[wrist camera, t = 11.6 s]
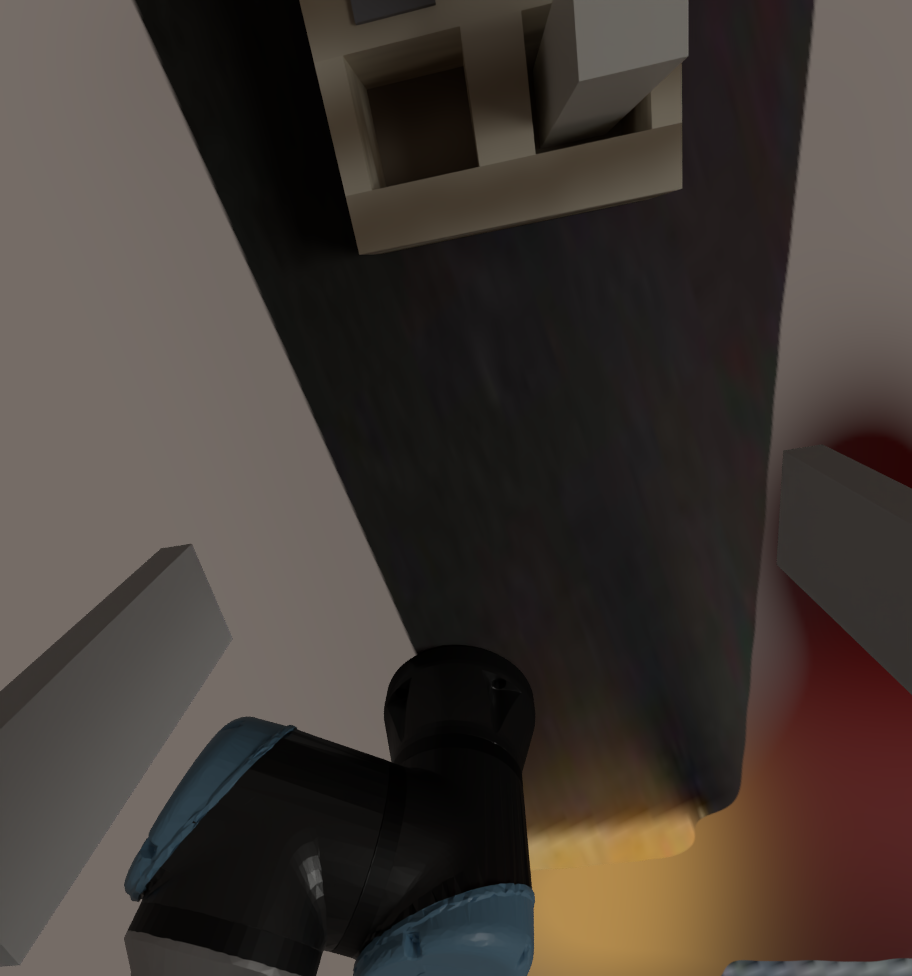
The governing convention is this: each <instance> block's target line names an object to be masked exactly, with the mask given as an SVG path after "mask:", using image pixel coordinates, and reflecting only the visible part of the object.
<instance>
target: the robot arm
mask: <svg viewBox="0 0 912 976" xmlns="http://www.w3.org/2000/svg"><path fill="white" fill-rule="evenodd" d="M780 500H781V501H780V516H779V534H778V551H777V565H778V566H779V567H780V568H781V569H782V570H783V571H784V572H785V573H786V574H787V575H789V577H790V578H791V579H792V580H793V581H794V582H796V584H798V585H799V586H800V587H801V588H802V589H803V590H804V591H805V592H806V593H807V594H808V595H809V596H810V597H811V598H812V599H813V600H814V601H815V602H816V603H817V604H818V605H819V606H820V607H821V608H822V609H823V610H825V611H826V612H827V613H828V614H829V615H830V616H831V617H832V618H833V619H834V620H835V621H836V622H837V623H838V624H839V625H840V626H841V627H842V628H843V629H844V630H845V631H846V632H847V633H848V634H850V636H852V637H853V638H854V639H855V640H856V641H857V642H858V643H859V644H860V645H861V646H862V647H863V648H864V649H865V650H866V651H867V652H868V653H869V654H870V655H871V656H872V657H873V658H874V659H875V660H877V662H879V663H880V664H881V665H882V666H883V667H884V668H885V669H886V670H887V671H888V672H889V673H890V674H891V675H892V676H893V677H894V678H895V679H896V680H897V681H898V682H899V683H900V684H901V685H902V686H903V687H904V688H905V689H907V690H908V691H909V692H910V693H911V694H912V489H911V488H909V487H907V486H905V485H902V484H901V483H899V482H896V481H895V480H893V479H891V478H888V477H887V476H885V475H883V474H880V473H879V472H877V471H875V470H872V469H871V468H868V467H866V466H864V465H862V464H860V463H858V462H856V461H854V460H852V459H850V458H848V457H846V456H844V455H842V454H840V453H838V452H836V451H834V450H832V449H830V448H828V447H826V446H824V445H817V446H811V447H804V448H797V449H791V450H785V451H783V466H782V482H781V499H780ZM231 641H232V636H231V634H230V631H229V629H228V627H227V625H226V622H225V620H224V618H223V615H222V613H221V611H220V608H219V606H218V604H217V601H216V599H215V597H214V594H213V592H212V590H211V587H210V585H209V583H208V580H207V578H206V576H205V573H204V571H203V569H202V566H201V564H200V562H199V559H198V557H197V555H196V552H195V550H194V548H193V545H192V544H187V545H181V546H174V547H169V548H162V549H160V550H159V551H158V552H157V553H156V554H154V555H153V556H152V557H151V558H150V559H149V560H148V561H147V562H145V563H144V564H143V565H142V566H141V567H140V568H139V569H138V570H137V571H135V572H134V573H133V574H132V575H131V576H130V577H129V578H127V579H126V580H125V581H124V582H123V583H122V584H121V585H120V586H118V587H117V588H116V589H115V590H114V591H113V592H112V593H111V594H109V596H107V597H106V598H105V599H104V600H103V601H102V602H101V603H99V604H98V605H97V606H96V607H95V608H94V609H93V610H91V611H90V612H89V613H88V614H87V615H86V616H85V617H84V618H83V619H81V620H80V621H79V622H78V623H77V624H76V625H75V626H73V627H72V628H71V629H70V630H69V631H68V632H67V633H66V634H65V635H63V636H62V637H61V638H60V639H59V640H58V641H57V642H55V644H53V645H52V646H51V647H50V648H49V649H48V650H47V651H45V652H44V653H43V654H42V655H41V656H40V657H39V658H38V659H36V660H35V661H34V662H33V663H32V664H31V665H30V666H28V667H27V668H26V669H25V670H24V671H23V672H22V673H21V674H19V675H18V676H17V677H16V678H15V679H14V680H13V681H12V682H10V683H9V684H8V685H7V686H6V687H5V688H4V689H3V690H2V691H0V966H13V965H20V964H21V962H22V961H23V959H24V958H25V956H26V955H27V953H28V951H29V950H30V948H31V947H32V945H33V944H34V942H35V941H36V939H37V938H38V936H39V934H40V933H41V931H42V930H43V928H44V927H45V925H46V924H47V922H48V921H49V919H50V918H51V916H52V915H53V913H54V912H55V910H56V909H57V907H58V906H59V904H60V902H61V901H62V899H63V898H64V896H65V895H66V893H67V892H68V890H69V889H70V887H71V886H72V884H73V883H74V881H75V880H76V878H77V877H78V875H79V873H80V872H81V870H82V868H83V867H84V866H85V864H86V863H87V861H88V860H89V858H90V857H91V855H92V853H93V852H94V850H95V849H96V847H97V846H98V844H99V843H100V841H101V840H102V838H103V837H104V835H105V834H106V832H107V831H108V829H109V828H110V826H111V824H112V823H113V821H114V820H115V818H116V817H117V815H118V814H119V812H120V811H121V809H122V808H123V806H124V805H125V803H126V801H127V800H128V798H129V797H130V795H131V794H132V792H133V791H134V789H135V788H136V786H137V785H138V783H139V782H140V780H141V779H142V777H143V775H144V774H145V772H146V771H147V769H148V768H149V766H150V765H151V763H152V762H153V760H154V759H155V757H156V756H157V754H158V753H159V751H160V749H161V748H162V746H163V745H164V743H165V742H166V740H167V739H168V737H169V736H170V734H171V733H172V731H173V730H174V728H175V726H176V725H177V723H178V722H179V720H180V719H181V717H182V716H183V714H184V713H185V711H186V710H187V708H188V706H189V705H190V704H191V702H192V700H193V699H194V697H195V696H196V694H197V693H198V691H199V690H200V688H201V687H202V685H203V684H204V682H205V680H206V679H207V677H208V676H209V674H210V673H211V671H212V669H213V668H214V667H215V665H216V664H217V662H218V661H219V659H220V658H221V656H222V655H223V653H224V651H225V650H226V648H227V647H228V645H229V644H230V642H231ZM384 721H385V727H386V733H387V738H388V744H389V750H390V756H391V761H392V762H389V761H387V760H384V759H381V758H378V757H375V756H372V755H369V754H367V753H364V752H360V751H358V750H355V749H352V748H349V747H346V746H343V745H340V744H337V743H334V742H331V741H328V740H325V739H322V738H319V737H316V736H313V735H311V734H308V733H305V732H302V731H300V730H297V728H296V727H295V726H293V725H289V726H284V725H280V724H277V723H273V722H269V721H265V720H262V719H258V718H255V717H241V718H238V719H235V720H233V721H231V722H230V723H228V724H227V725H225V726H224V727H223V728H222V729H221V730H220V731H219V732H218V733H217V734H216V735H215V736H214V737H213V738H212V740H211V741H210V742H209V743H208V744H207V746H206V747H205V748H204V750H203V751H202V752H201V753H200V755H199V756H198V758H197V759H196V760H195V762H194V763H193V765H192V766H191V767H190V769H189V770H188V772H187V773H186V775H185V776H184V777H183V779H182V780H181V782H180V783H179V785H178V786H177V788H176V789H175V791H174V792H173V794H172V796H171V797H170V799H169V800H168V802H167V803H166V805H165V807H164V808H163V810H162V811H161V813H160V815H159V816H158V818H157V820H156V821H155V823H154V825H153V827H152V828H151V830H150V832H149V837H148V838H147V839H146V841H145V842H144V844H143V846H142V848H141V849H140V851H139V852H138V854H137V855H136V857H135V859H134V861H133V863H132V865H131V867H130V869H129V871H128V874H127V876H126V879H125V884H124V886H125V891H126V893H127V894H129V895H130V897H131V900H132V901H137V902H139V901H140V899H142V902H141V904H140V906H139V909H138V910H137V913H136V914H135V916H134V919H133V921H132V923H131V925H130V927H129V929H128V931H127V933H126V935H125V937H124V940H125V945H126V950H127V955H128V959H129V964H130V969H131V976H316V974H317V970H318V967H319V963H320V960H321V956H322V953H323V951H324V950H325V951H329V952H333V953H337V954H340V955H344V956H347V957H351V958H353V959H355V960H356V961H355V964H354V969H353V971H354V974H353V976H527V974H528V972H529V970H530V967H531V964H532V960H533V954H534V918H533V917H534V914H533V913H534V912H533V908H534V903H535V896H534V892H533V890H532V886H531V885H532V884H531V873H530V861H529V850H528V838H527V827H526V815H525V804H524V793H523V781H522V771H523V768H524V764H525V760H526V757H527V753H528V750H529V746H530V742H531V739H532V735H533V731H534V727H535V707H534V699H533V693H532V690H531V687H530V684H529V683H528V681H527V679H526V678H525V676H524V675H523V674H522V672H521V671H520V670H519V669H518V668H517V667H516V666H515V665H513V664H512V663H511V662H509V661H508V660H506V659H505V658H503V657H501V656H499V655H497V654H495V653H492V652H489V651H486V650H483V649H479V648H474V647H466V646H448V647H440V648H435V649H432V650H428V651H425V652H423V653H421V654H418V655H416V656H414V657H413V658H411V659H410V660H409V661H407V662H406V663H405V664H403V665H402V666H401V667H400V668H399V669H398V670H397V672H396V673H395V674H394V676H393V678H392V679H391V682H390V684H389V687H388V691H387V696H386V701H385V706H384Z"/></svg>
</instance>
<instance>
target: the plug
mask: <svg viewBox="0 0 912 976" xmlns="http://www.w3.org/2000/svg"><path fill="white" fill-rule="evenodd" d="M687 57H688V0H553V1H552V5H551V8H550V12H549V15H548V19H547V22H546V26H545V29H544V33H543V36H542V40H541V43H540V47H539V50H538V54H537V57H536V61H535V64H534V68H533V78H534V88H535V98H536V108H537V118H538V129H539V139H540V149H541V148H546V147H550V146H555V145H559V144H564V143H568V142H573V141H577V140H582V139H586V138H591V137H595V136H600V135H605V134H606V133H607V132H608V131H609V130H611V129H612V128H613V127H614V126H615V125H616V124H617V123H618V122H619V121H620V120H621V119H622V118H623V117H624V116H625V115H626V114H628V113H629V112H630V111H631V110H632V109H633V108H634V107H635V106H636V105H637V104H638V103H639V102H640V101H641V100H642V99H643V98H644V97H646V96H647V95H648V94H649V93H650V92H651V91H652V90H653V89H654V88H655V87H656V86H657V85H658V84H659V83H660V82H661V81H662V80H664V79H665V78H666V77H667V76H668V75H669V74H670V73H671V72H672V71H673V70H674V69H675V68H676V67H677V66H678V65H679V64H680V63H682V62H683V61H684V60H685V59H686V58H687Z"/></svg>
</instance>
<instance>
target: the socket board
mask: <svg viewBox="0 0 912 976" xmlns="http://www.w3.org/2000/svg"><path fill="white" fill-rule="evenodd" d="M299 1H300V5H301V9H302V14H303V18H304V22H305V26H306V30H307V35H308V39H309V43H310V47H311V52H312V56H313V60H314V64H315V69H316V73H317V77H318V81H319V86H320V90H321V94H322V98H323V103H324V107H325V111H326V115H327V119H328V124H329V128H330V132H331V136H332V141H333V145H334V149H335V153H336V158H337V162H338V166H339V170H340V175H341V179H342V183H343V187H344V192H345V196H346V200H347V204H348V208H349V213H350V217H351V221H352V225H353V230H354V234H355V238H356V242H357V247H358V251H359V255H369V254H384V253H389V252H394V251H399V250H404V249H409V248H414V247H419V246H424V245H428V244H433V243H438V242H443V241H448V240H453V239H458V238H463V237H468V236H473V235H477V234H482V233H487V232H492V231H497V230H502V229H507V228H512V227H517V226H522V225H527V224H531V223H536V222H541V221H546V220H551V219H556V218H561V217H566V216H571V215H576V214H580V213H585V212H590V211H595V210H600V209H605V208H610V207H615V206H620V205H625V204H629V203H634V202H639V201H644V200H647V199H651V198H654V197H657V196H660V195H663V194H667V193H670V192H673V191H676V190H679V189H682V63H680V64H679V65H678V66H677V67H676V68H675V69H674V70H673V71H672V72H671V73H670V74H669V75H668V76H667V77H666V78H665V79H664V80H662V81H661V82H660V83H659V84H658V85H657V86H656V87H655V88H654V89H653V90H652V91H651V92H650V93H649V94H648V95H647V96H646V97H644V98H643V99H642V100H641V101H640V102H639V103H638V104H637V105H636V106H635V107H634V108H633V109H632V110H631V111H630V112H629V113H628V114H626V115H625V116H624V117H623V118H622V119H621V120H620V121H619V122H618V123H617V124H616V125H615V126H614V127H613V128H612V129H611V130H609V131H608V132H607V133H606V134H605V135H600V136H595V137H591V138H586V139H582V140H577V141H573V142H568V143H564V144H559V145H555V146H550V147H546V148H541V149H540V139H539V129H538V118H537V108H536V98H535V88H534V78H533V68H534V64H535V61H536V57H537V54H538V50H539V47H540V43H541V40H542V36H543V33H544V29H545V26H546V22H547V19H548V15H549V12H550V8H551V5H552V1H553V0H299Z"/></svg>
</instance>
